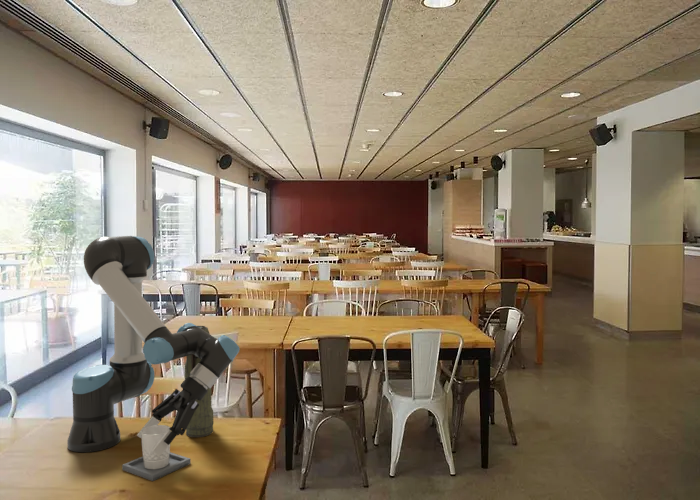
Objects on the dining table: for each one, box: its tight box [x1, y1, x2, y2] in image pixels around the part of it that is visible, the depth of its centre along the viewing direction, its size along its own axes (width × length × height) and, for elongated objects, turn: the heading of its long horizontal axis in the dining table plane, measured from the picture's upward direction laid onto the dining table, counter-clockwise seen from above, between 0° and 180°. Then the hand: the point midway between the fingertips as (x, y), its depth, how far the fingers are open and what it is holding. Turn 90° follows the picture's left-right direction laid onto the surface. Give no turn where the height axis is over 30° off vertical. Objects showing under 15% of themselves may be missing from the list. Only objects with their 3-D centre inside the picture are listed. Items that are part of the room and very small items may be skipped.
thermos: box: [184, 325, 214, 438], centre depth 185 cm, size 9×12×35 cm
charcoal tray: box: [121, 451, 192, 482], centre depth 159 cm, size 13×13×2 cm
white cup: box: [140, 424, 171, 469], centre depth 159 cm, size 8×8×10 cm
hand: (148, 445), depth 157 cm, fingers open, 13 cm apart
